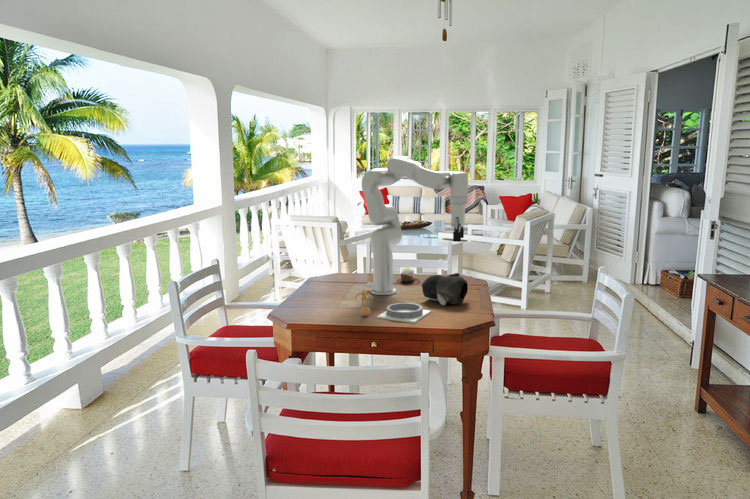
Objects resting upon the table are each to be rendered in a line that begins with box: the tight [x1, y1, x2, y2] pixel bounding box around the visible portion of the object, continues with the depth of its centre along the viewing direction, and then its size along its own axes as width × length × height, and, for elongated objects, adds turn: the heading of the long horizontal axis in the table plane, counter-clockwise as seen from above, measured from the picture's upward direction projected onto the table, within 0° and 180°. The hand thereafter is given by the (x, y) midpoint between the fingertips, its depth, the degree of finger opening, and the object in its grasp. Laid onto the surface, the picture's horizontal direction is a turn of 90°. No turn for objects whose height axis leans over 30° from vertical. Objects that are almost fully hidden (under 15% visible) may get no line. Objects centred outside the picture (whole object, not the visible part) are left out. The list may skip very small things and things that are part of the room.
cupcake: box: [396, 266, 421, 285], centre depth 301 cm, size 12×10×10 cm
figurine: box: [354, 288, 375, 317], centre depth 238 cm, size 8×6×12 cm
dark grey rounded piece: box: [421, 272, 469, 306], centre depth 259 cm, size 20×21×13 cm
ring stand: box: [376, 302, 432, 324], centre depth 240 cm, size 17×17×3 cm
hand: (458, 239), depth 251 cm, fingers open, 9 cm apart
